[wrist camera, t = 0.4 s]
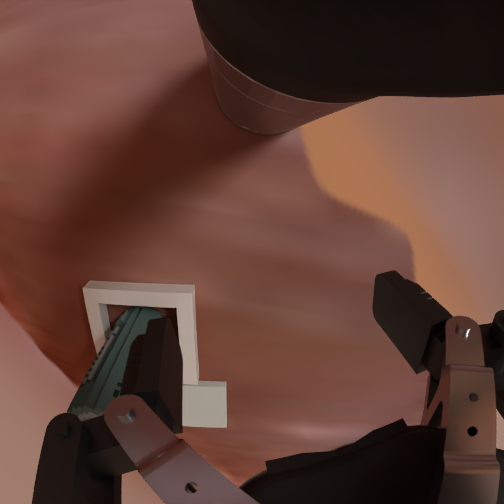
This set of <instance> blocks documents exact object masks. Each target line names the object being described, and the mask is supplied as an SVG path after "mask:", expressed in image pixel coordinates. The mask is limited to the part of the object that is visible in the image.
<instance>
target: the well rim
mask: <svg viewBox="0 0 504 504" xmlns="http://www.w3.org/2000/svg"><path fill="white" fill-rule="evenodd" d="M82 289H83V294H84V299H85V305H86V310H87V314H88V319H89V324H90V328H91V332H92V336H93V341H94V345H95V348H96V352H97V354H98V353H99V351H100V349H101V348H102V346H103V344H104V342H105V341H106V339H107V337H108V336H109V334H110V332H111V327H110V322H109V316H108V311H107V305H106V304H116V305H130V306H147V307H166V308H177V321H178V333H179V344H180V348H181V351H182V356H183V384H192V385H198V379H199V365H198V350H197V333H196V312H195V285H181V284H153V283H130V282H110V281H93V280H90V281H89V282H88V283H87V284H86V285H85V286H84V287H83V288H82Z"/></svg>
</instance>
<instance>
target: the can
mask: <svg viewBox="0 0 504 504" xmlns="http://www.w3.org/2000/svg"><path fill="white" fill-rule="evenodd" d="M160 315H161V313H160V312H158V311H155V310H153V309H151V308H148V307H146V306H143V308H140V307H138V306H135V308H133V307H131V309H127V310H126V312H125V313H122V314H121V316H120V317H119V319H118V321H117V322H116V324H115V326H114V327H113V329H112V331H111V332H110V334H109V336H108V337H107V339H106V341H105V342H104V344H103V346H102V348H101V349H100V351H99V353H98V354H97V356H96V358H95V360H94V362H93V363H92V365H91V367H90V369H89V370H88V372H87V374H86V376H85V378H84V380H83V381H82V383H81V385H80V387H79V389H78V391H77V393H76V395H75V396H74V398H73V400H72V402H71V404H70V406H69V408H68V410H67V413H72V414H75V415H76V416H77V417H78V418H79V419H80V420H81V421H85V420H88V419H91V418H95V417H98V416H101V415H103V414H104V412H105V409H106V407H107V405H108V404H109V403H110V402H111V401H112V400H114V399H115V398H117V397H119V395H120V390H121V385H122V380H123V376H124V371H125V367H126V365H127V364H126V362H127V358H128V357H129V356H128V354H129V350H130V345H131V344H132V342H133V341H134V340H135V338H136V337H137V336H138V335H140V334H146V329H147V324H148V321H149V320H150V319H156V318H163V317H162V316H160Z"/></svg>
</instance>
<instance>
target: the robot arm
mask: <svg viewBox="0 0 504 504" xmlns="http://www.w3.org/2000/svg"><path fill="white" fill-rule="evenodd" d="M192 2H193V6H194V10H195V14H196V17H197V21H198V25H199V29H200V33H201V37H202V40H203V43H204V48H205V52H206V56H207V60H208V64H209V68H210V72H211V76H212V80H213V85H214V89H215V93H216V97H217V100H218V103H219V105H220V108H221V109H222V111H223V112H224V114H225V115H226V116H227V117H228V118H229V119H230V120H231V121H232V122H233V123H234V124H235V125H237V126H239V127H240V128H242V129H244V130H247V131H249V132H252V133H256V134H262V135H274V134H279V133H284V132H287V131H291V130H293V129H294V128H297V127H299V126H302V125H304V124H306V123H309V122H311V121H314V120H316V119H319V118H321V117H324V116H326V115H329V114H332V113H334V112H337V111H340V110H342V109H345V108H347V107H350V106H352V105H355V104H358V103H361V102H364V101H367V100H369V99H372V98H375V97H378V96H413V97H472V96H487V95H504V0H192ZM373 314H374V317H375V320H376V321H377V323H378V324H379V325H380V326H381V328H382V329H383V330H384V332H385V333H386V334H387V335H388V337H389V338H390V339H391V341H392V342H393V343H394V345H395V346H396V347H397V349H398V350H399V351H400V352H401V354H402V355H403V356H404V358H405V359H406V360H407V362H408V363H409V364H410V366H411V367H412V369H413V370H414V371H415V373H416V374H418V373H420V372H423V371H425V370H428V371H429V376H428V379H427V388H426V396H425V403H424V410H423V416H422V420H421V423H420V425H414V426H407V425H406V423H405V421H404V420H403V418H402V419H400V420H398V421H395V422H393V423H391V424H388V425H386V426H383V427H381V428H378V429H376V430H373V431H371V432H370V433H368V434H367V435H365V436H364V437H362V438H361V439H359V440H358V441H356V442H355V443H353V444H351V445H350V446H348V447H346V448H345V449H343V450H339V451H328V452H314V453H300V454H296V455H292V456H288V457H284V458H279V459H274V460H269V461H265V462H266V467H267V470H265V471H263V472H261V473H259V474H257V475H255V476H253V477H252V478H250V479H249V480H247V481H246V482H245V483H244V484H242V485H241V486H240V487H239V488H238V487H237V486H236V485H235V484H233V483H232V482H231V481H230V480H228V479H227V478H226V477H225V476H224V475H222V474H221V473H220V472H219V471H218V470H217V469H215V468H214V467H213V466H212V465H211V464H210V463H209V462H207V461H206V460H205V459H204V458H203V457H202V456H201V455H200V454H199V453H198V452H196V451H195V450H194V449H193V448H192V447H191V446H190V445H189V444H188V443H187V442H186V441H184V440H183V439H179V438H178V437H177V436H176V435H175V434H177V433H183V428H182V401H183V356H182V351H181V348H180V345H179V342H178V340H177V337H176V334H175V331H174V328H173V326H172V323H171V320H170V318H169V317H163V318H156V319H150V320H149V321H148V324H147V329H146V334H140V335H138V336H137V337H136V338H135V340H134V341H133V342H132V344H131V345H130V350H129V354H128V356H129V357H128V358H127V362H126V364H127V365H126V367H125V371H124V376H123V380H122V385H121V390H120V395H119V397H117V398H115V399H114V400H112V401H111V402H110V403H109V404H108V405H107V407H106V409H105V412H104V414H103V415H101V416H98V417H95V418H91V419H88V420H85V421H81V420H80V419H79V418H78V417H77V416H76V415H75V414H72V413H63V414H59V415H57V416H56V417H54V418H53V419H52V420H51V421H50V423H49V424H48V426H47V429H46V433H45V436H44V441H43V445H42V450H41V454H40V459H39V464H38V469H37V474H36V480H35V486H34V492H33V500H32V504H121V481H122V474H124V473H127V472H131V471H134V470H138V472H139V473H140V475H141V476H142V477H143V478H144V479H145V481H146V482H147V483H148V484H149V486H150V487H151V488H152V489H153V491H154V492H155V493H156V494H157V495H158V496H159V497H160V498H161V500H162V501H163V502H164V503H165V504H504V450H501V449H497V448H496V409H497V410H498V412H499V413H500V414H501V416H502V417H503V419H504V310H501V311H498V312H497V313H496V314H495V317H494V319H493V322H492V323H489V324H482V325H478V324H477V323H476V322H475V321H474V320H473V319H471V318H469V317H466V316H454V317H453V316H452V315H451V314H450V313H449V312H448V311H447V310H446V309H445V308H444V307H442V305H440V304H439V303H438V302H437V301H436V300H435V299H434V298H432V296H431V295H430V294H428V293H426V291H425V290H424V289H423V288H422V287H421V286H420V285H418V284H417V283H414V282H412V281H410V280H408V279H406V280H405V279H404V278H403V277H402V276H401V275H400V274H399V273H398V272H396V271H395V270H393V271H389V272H385V273H381V274H378V275H376V278H375V286H374V297H373Z"/></svg>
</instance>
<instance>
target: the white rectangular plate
mask: <svg viewBox="0 0 504 504" xmlns="http://www.w3.org/2000/svg"><path fill="white" fill-rule="evenodd" d="M182 426H193V427H218V428H227V409H226V382H217V381H198V385H192V384H183V401H182Z"/></svg>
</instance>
